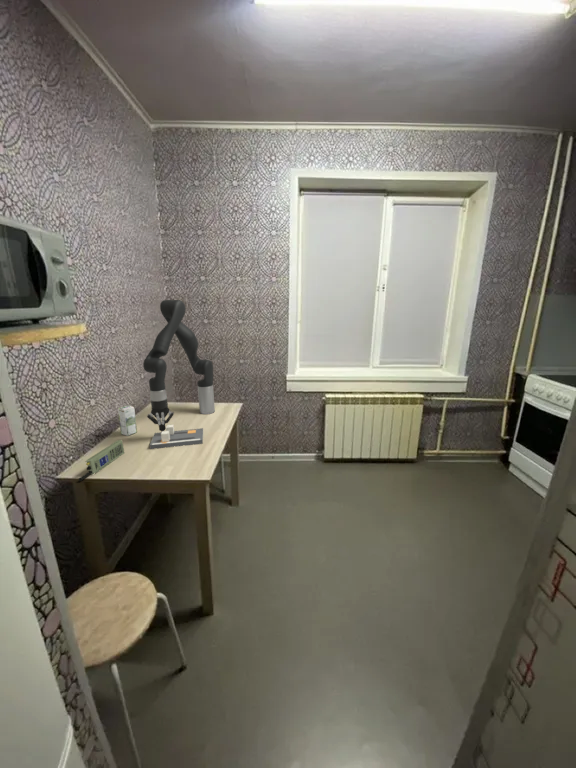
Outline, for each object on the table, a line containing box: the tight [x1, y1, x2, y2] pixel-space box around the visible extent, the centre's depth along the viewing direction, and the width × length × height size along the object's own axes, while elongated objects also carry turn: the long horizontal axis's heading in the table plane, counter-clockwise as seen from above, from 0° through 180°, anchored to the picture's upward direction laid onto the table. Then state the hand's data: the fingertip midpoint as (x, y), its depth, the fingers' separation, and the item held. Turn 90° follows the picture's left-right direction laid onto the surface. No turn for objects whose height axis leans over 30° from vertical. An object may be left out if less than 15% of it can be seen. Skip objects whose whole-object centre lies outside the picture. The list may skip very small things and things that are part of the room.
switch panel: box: [149, 427, 204, 450], centre depth 158 cm, size 15×24×2 cm, turn 104°
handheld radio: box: [78, 439, 125, 482], centre depth 133 cm, size 7×3×25 cm
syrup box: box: [117, 405, 138, 437], centre depth 165 cm, size 6×6×14 cm
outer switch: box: [161, 430, 170, 442], centre depth 153 cm, size 4×3×4 cm
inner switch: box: [165, 424, 175, 435], centre depth 160 cm, size 4×3×4 cm
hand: (162, 431), depth 160 cm, fingers closed
